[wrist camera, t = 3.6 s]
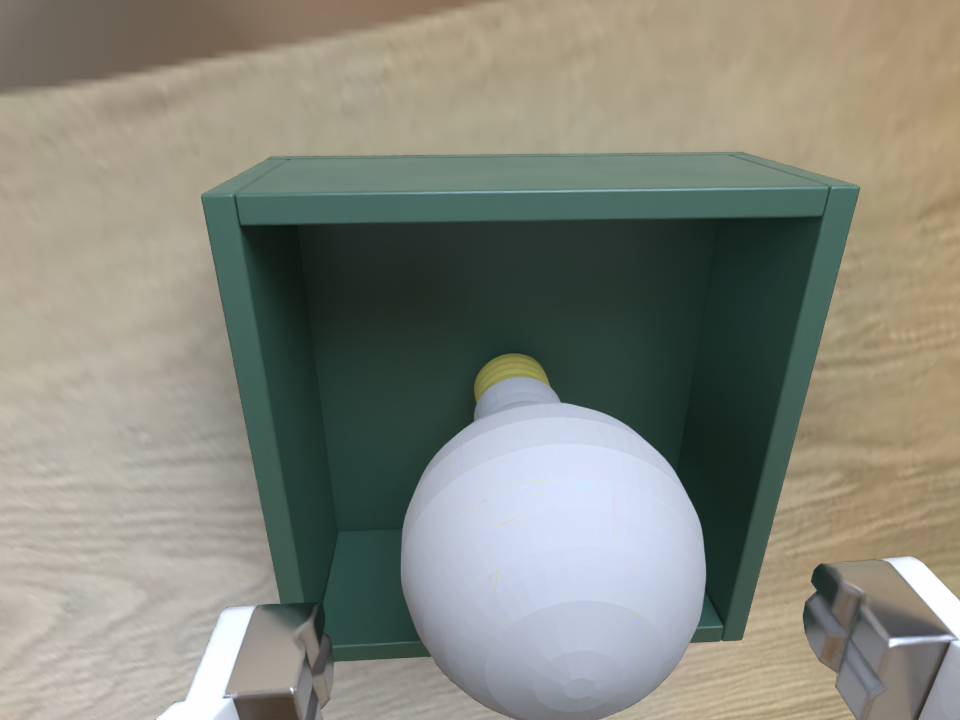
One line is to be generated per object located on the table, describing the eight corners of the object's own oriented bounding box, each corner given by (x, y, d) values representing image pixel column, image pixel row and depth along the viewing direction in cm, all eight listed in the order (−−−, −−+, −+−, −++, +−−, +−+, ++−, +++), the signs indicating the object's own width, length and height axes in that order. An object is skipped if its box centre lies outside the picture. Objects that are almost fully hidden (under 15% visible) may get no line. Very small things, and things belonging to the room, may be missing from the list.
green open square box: (324, 534, 21) (291, 665, 16) (269, 156, 15) (198, 194, 11) (679, 519, 21) (742, 641, 17) (743, 151, 16) (862, 185, 12)
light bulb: (639, 345, 18) (846, 633, 9) (533, 479, 20) (613, 831, 11) (479, 249, 16) (531, 477, 7) (381, 404, 18) (323, 741, 9)
